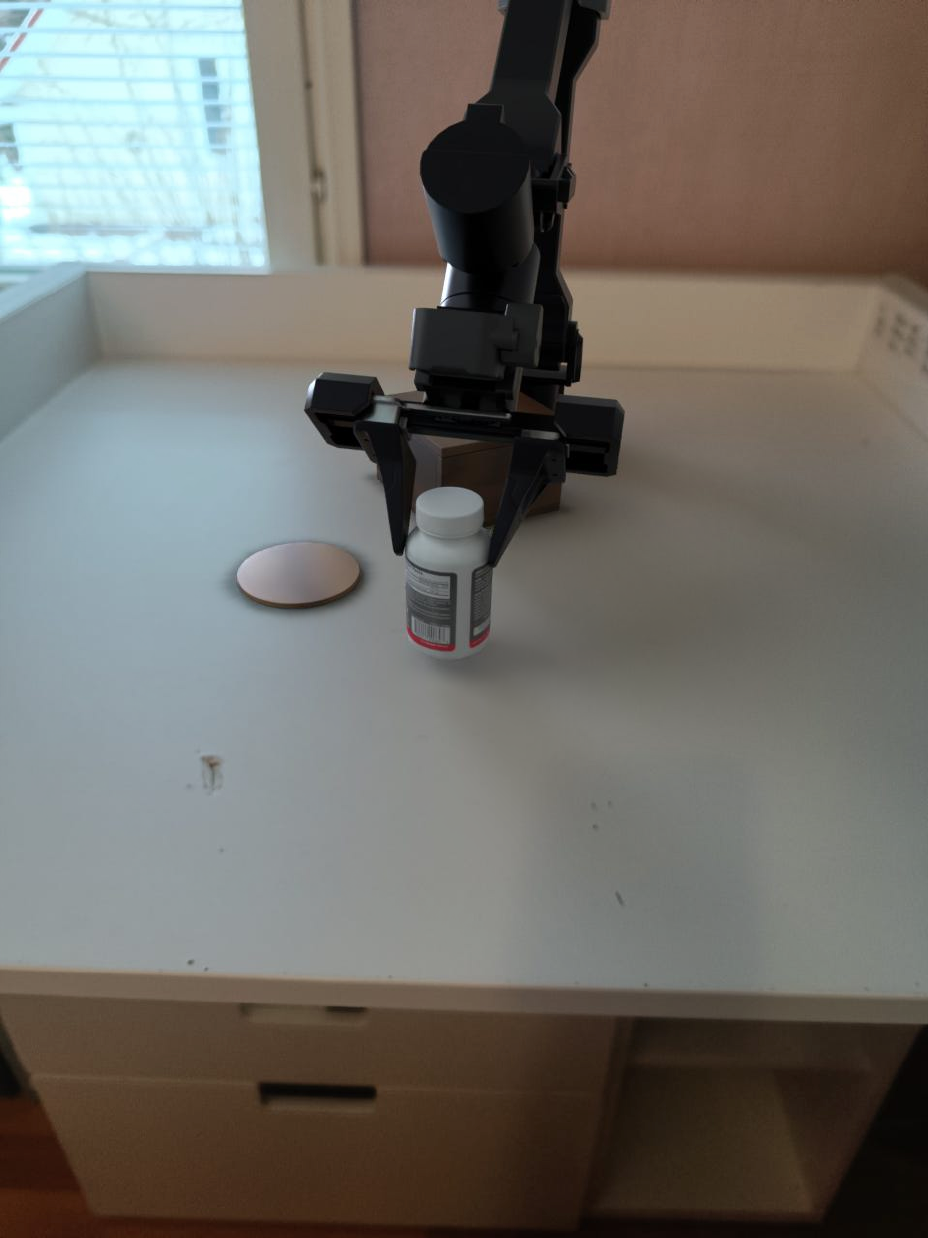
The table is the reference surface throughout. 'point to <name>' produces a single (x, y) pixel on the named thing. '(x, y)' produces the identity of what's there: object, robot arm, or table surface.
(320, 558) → the coaster
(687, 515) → the table surface
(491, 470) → the chest
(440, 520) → the pill bottle
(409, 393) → the chest lid
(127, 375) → the table surface
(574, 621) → the table surface
